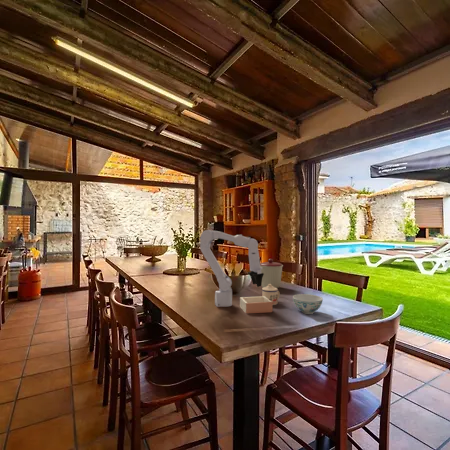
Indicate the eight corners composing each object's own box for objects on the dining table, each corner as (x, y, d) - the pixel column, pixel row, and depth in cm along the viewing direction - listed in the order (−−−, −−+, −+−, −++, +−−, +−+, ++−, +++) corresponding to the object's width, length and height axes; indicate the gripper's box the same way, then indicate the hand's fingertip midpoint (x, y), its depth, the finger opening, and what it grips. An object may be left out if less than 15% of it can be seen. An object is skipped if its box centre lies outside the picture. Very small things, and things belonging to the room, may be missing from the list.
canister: (280, 285, 219) (280, 257, 219) (285, 290, 201) (285, 260, 201) (257, 284, 219) (257, 257, 219) (259, 290, 201) (259, 260, 201)
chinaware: (316, 308, 157) (316, 294, 157) (327, 316, 142) (327, 301, 142) (289, 308, 157) (289, 294, 157) (297, 317, 142) (297, 301, 142)
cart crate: (245, 315, 144) (245, 303, 144) (239, 308, 156) (239, 297, 156) (272, 313, 147) (272, 301, 147) (264, 307, 159) (264, 296, 159)
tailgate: (246, 313, 143) (246, 303, 143) (246, 313, 144) (246, 303, 144) (272, 312, 146) (272, 302, 146) (271, 311, 147) (271, 301, 147)
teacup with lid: (269, 307, 158) (269, 286, 158) (258, 304, 165) (258, 283, 165) (284, 304, 164) (285, 284, 164) (273, 301, 172) (273, 281, 172)
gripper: (265, 260, 152) (268, 286, 151) (257, 258, 166) (259, 282, 166) (252, 262, 150) (255, 288, 150) (245, 260, 165) (248, 283, 164)
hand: (257, 285), depth 158 cm, fingers open, 7 cm apart
